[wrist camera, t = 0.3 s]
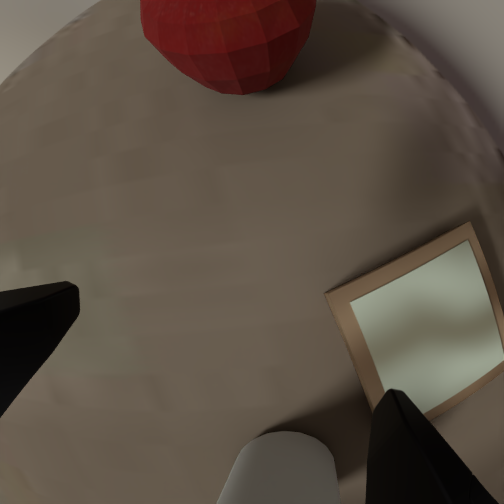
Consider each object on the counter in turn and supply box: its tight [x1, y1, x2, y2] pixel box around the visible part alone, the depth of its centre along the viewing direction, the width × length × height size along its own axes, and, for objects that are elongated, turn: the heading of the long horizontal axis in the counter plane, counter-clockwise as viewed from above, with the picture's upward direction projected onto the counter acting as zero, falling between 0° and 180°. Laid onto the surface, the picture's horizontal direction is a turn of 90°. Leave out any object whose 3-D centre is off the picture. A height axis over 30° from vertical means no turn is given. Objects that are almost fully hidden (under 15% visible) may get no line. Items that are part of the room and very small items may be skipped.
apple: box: [140, 0, 316, 95], centre depth 17 cm, size 12×12×13 cm
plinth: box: [324, 221, 504, 421], centre depth 18 cm, size 11×11×3 cm
